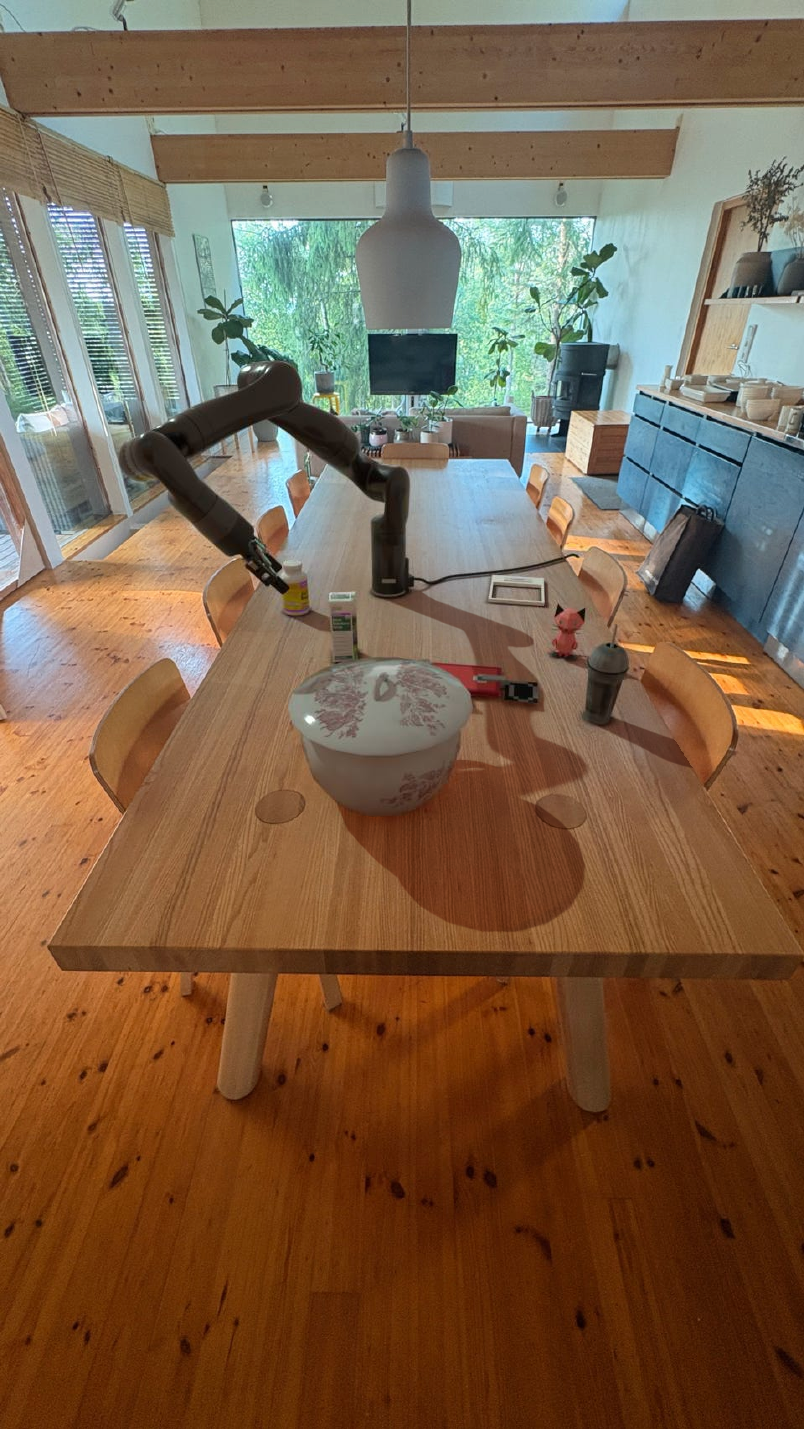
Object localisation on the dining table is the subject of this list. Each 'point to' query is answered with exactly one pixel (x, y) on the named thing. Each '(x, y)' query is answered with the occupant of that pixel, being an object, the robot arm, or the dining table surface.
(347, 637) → the syrup box
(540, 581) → the photo frame
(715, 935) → the dining table surface
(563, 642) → the cat figurine
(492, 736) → the dining table surface
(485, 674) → the red board with handle
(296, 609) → the supplement bottle
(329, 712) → the chamber pot
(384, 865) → the dining table surface
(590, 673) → the beverage cup
